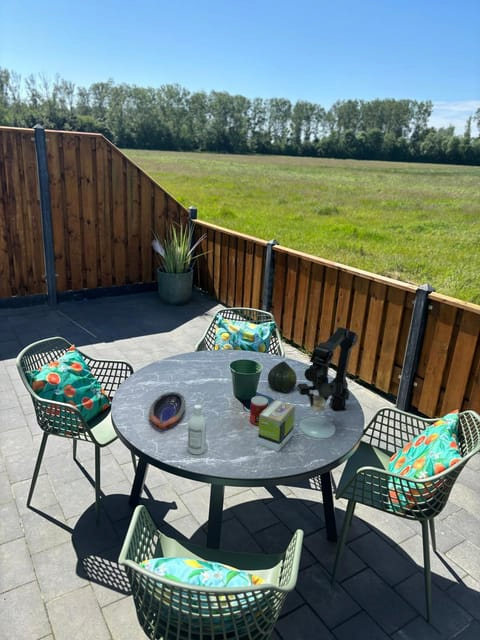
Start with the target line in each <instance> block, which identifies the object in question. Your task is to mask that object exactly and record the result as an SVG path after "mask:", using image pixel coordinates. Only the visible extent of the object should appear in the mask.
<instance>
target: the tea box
mask: <svg viewBox="0 0 480 640" xmlns="http://www.w3.org/2000/svg"><path fill="white" fill-rule="evenodd" d="M295 412H296V406H295V405H293V404H290V403H286V402H283V401H280V400H277V399H275V400H273V401H272V402H271V403H270V404H268V407H267V408H266V409H265V410H264V411H263V412H262V413H261V414H260V415H259V426H258V431H257V433H258V435H257V445H259V446H262V447H265V448H267V449H270V450H272V451H276V452H279V451H280V450H281V449H282V448H283V447H284V446H285V445H286V444H287V442H288V441H289V440H290V439H291V438H292V436H294V430H295V429H294V425H295V415H296V414H295Z"/></svg>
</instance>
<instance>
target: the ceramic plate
mask: <svg viewBox="0 0 480 640" xmlns="http://www.w3.org/2000/svg"><path fill="white" fill-rule="evenodd" d="M298 427H299V431H300V432H301V433H302V434H304V435H305V436H306V437H308V438H309V437H310V438H312V439H317V440H325V439H330V438H332V437H334V435H335V434H336V426H335V424H334V423H333V422H331V421H330V420H328V419H325V418H322V417H317V416H309V417H305V418H303V419H301V420H300V421H299V425H298Z"/></svg>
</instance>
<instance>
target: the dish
mask: <svg viewBox="0 0 480 640" xmlns="http://www.w3.org/2000/svg"><path fill="white" fill-rule="evenodd" d="M185 409H186V399H185V396H184V395H182V394H181V393H179V392H177V391H169V392H166V393H163V394H161V395H159V396H158V397H157V398H156V399H154V401H153V402H152V404H151V405H150V407H149V410H148V417H149V419H150V421H151V423H152V424H154V426H156V427H157V428H159V429H163V430H167V429H168V430H169V429H170V428H171V427H173V426H175V425H176V424H177V423H179V421H180V420H181V419H182V417H183V414H184V413H185Z"/></svg>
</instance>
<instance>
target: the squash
mask: <svg viewBox="0 0 480 640" xmlns="http://www.w3.org/2000/svg"><path fill="white" fill-rule="evenodd" d="M267 382H268V384H269V386H270V388H272V389H274V390H278V391H280V390H281V392H283V393H287V392H288V391H292V390H293V389H294V388H295V386H296V384H297V374H296V372H295V371H294V369H293V367H291V366H290V365H289V364H288V363H287V362H286V361H281V362H279V363H277V364H276V365H274V366H273V367H272V368H271V369H270V370H269V371H268V374H267Z"/></svg>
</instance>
